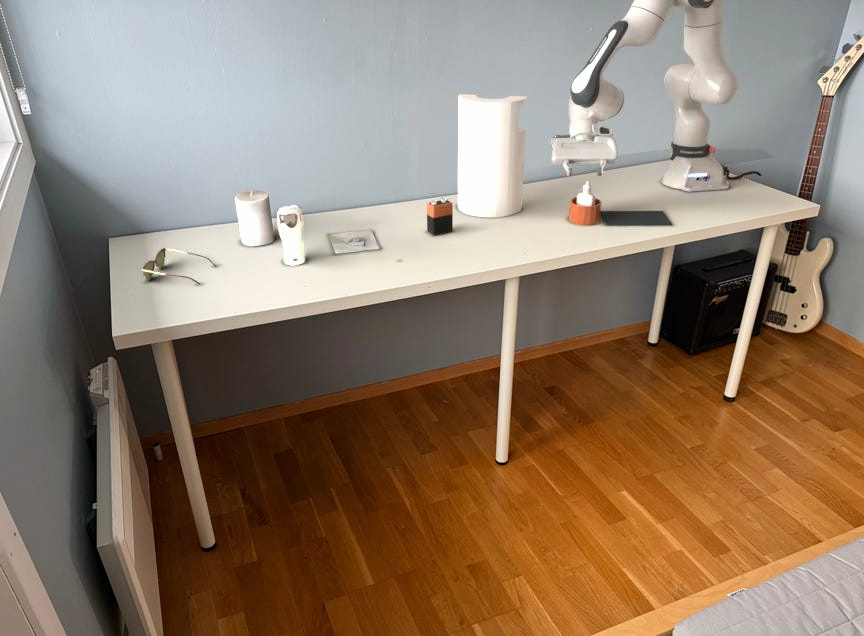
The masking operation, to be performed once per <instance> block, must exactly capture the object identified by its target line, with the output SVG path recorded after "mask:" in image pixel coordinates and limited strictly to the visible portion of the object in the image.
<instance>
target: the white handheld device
mask: <svg viewBox="0 0 864 636" xmlns="http://www.w3.org/2000/svg"><path fill="white" fill-rule="evenodd" d="M276 222H277V223H276V224H277V229H278V234H279V237H280V240H281V244H282V248H283V255H284V256H283V263H284V264H285V265H287V266H299V265H302V264H305V263H306V261H307V258H306V255H305V251H304V237H305V225H304V223H305V222H304V217H303V211H302V207H300V206H298V205H283V206H279V207H277V208H276Z"/></svg>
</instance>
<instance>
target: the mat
mask: <svg viewBox="0 0 864 636" xmlns="http://www.w3.org/2000/svg"><path fill="white" fill-rule="evenodd" d="M600 217H601V218H602V220H603V222H604V224H605V226H607V227H611V226H614V227H615V226H616V227H617V226H618V227H619V226H631V227H633V226H634V227H635V226H636V227H637V226H639V227H641V226H644V227H645V226H648V227H649V226H653V227H654V226H655V227H656V226H661V227H662V226H673V223H672V222H671V220H670V219H669V218H668V217H667V215H666V214H665V212H664V211H663V210H601V212H600Z"/></svg>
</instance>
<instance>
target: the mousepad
mask: <svg viewBox="0 0 864 636" xmlns="http://www.w3.org/2000/svg"><path fill="white" fill-rule="evenodd" d="M328 235H329V238H330V242H331V245H332V249H333V251H334V254H335V255H341V254H349V253H357V252H358V253H359V252H363V251H373V250H380V249H381V248H380V245H379V244H378V241H377V239H376V236H375V235H374V233H373V230H372V229H367V230H357V231H348V232H347V231H346V232H337V233H329V234H328Z"/></svg>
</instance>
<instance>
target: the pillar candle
mask: <svg viewBox="0 0 864 636" xmlns="http://www.w3.org/2000/svg"><path fill="white" fill-rule="evenodd" d="M234 201H235V208H236V215H237V220H238V221H237V222H238V227H239V234H240V241H241V244H243V245H244V246H248V247H259V246H267V245H269V244H271V243H273V242H274V240H275V230H274V224H273V217H272V209H271V203H270V195H269V193H268V192H266V191H263V190H247V191H243V192H240V193H237V194H235V196H234Z"/></svg>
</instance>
